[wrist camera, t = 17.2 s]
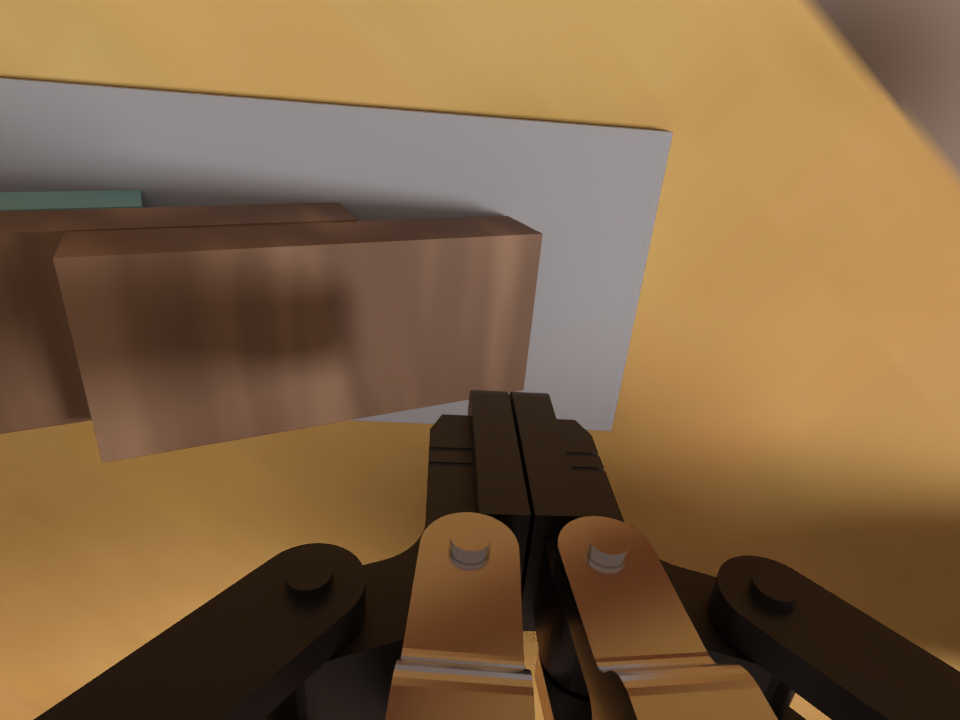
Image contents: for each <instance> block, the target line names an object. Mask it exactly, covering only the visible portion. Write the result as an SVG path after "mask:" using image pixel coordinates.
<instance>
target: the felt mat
mask: <svg viewBox="0 0 960 720" xmlns="http://www.w3.org/2000/svg"><path fill="white" fill-rule="evenodd" d="M672 134H673V132H670V131H665V130H652V129H640V128H627V127H615V126H602V125H590V124H577V123H565V122H552V121H540V120H527V119H515V118H502V117H490V116H477V115H465V114H452V113H440V112H427V111H415V110H402V109H390V108H377V107H365V106H352V105H340V104H327V103H315V102H302V101H290V100H277V99H265V98H253V97H240V96H228V95H215V94H203V93H190V92H178V91H165V90H153V89H140V88H128V87H115V86H103V85H90V84H78V83H65V82H53V81H40V80H28V79H15V78H3V77H0V192H47V191H112V190H141V195H142V201H143V207H144V208H149V207H188V206H226V205H265V204H303V203H340V204H341V205H342V206H343V207H344V208H346V209H347V210H348V211H349V212H350V213H351V214H352V215H353V216H354V217H355V218H357V219H358V221H377V220H406V219H434V218H463V217H491V216H509V217H511V218H513V219H515V220H517V221H519V222H521V223H523V224H525V225H527V226H529V227H531V228H532V229H534V230H536V231H538V232H540V233H542V234H543V235H542V244H541V252H540V260H539V268H538V276H537V285H536V293H535V301H534V309H533V318H532V326H531V334H530V342H529V350H528V359H527V367H526V375H525V383H524V390H522V391H516V392H532V393H548V394H549V396H550V399H551V402H552V406H553V409H554V412H555V416H556V419H568V420H576V421H577V422H578V423H579V424H580V425H581V426H582V427H583V428H584V429H585V430H597V431H612V426H613V421H614V416H615V411H616V406H617V402H618V397H619V392H620V387H621V382H622V377H623V372H624V368H625V363H626V358H627V353H628V348H629V343H630V338H631V334H632V329H633V324H634V319H635V314H636V309H637V304H638V300H639V295H640V290H641V285H642V280H643V275H644V270H645V266H646V261H647V256H648V251H649V246H650V241H651V236H652V231H653V227H654V222H655V217H656V212H657V207H658V202H659V197H660V193H661V188H662V183H663V178H664V173H665V168H666V163H667V159H668V154H669V149H670V144H671V139H672ZM509 394H510V393H509ZM468 404H469V400H464V401H458V402H452V403H447V404H441V405H435V406H429V407H423V408H418V409H412V410H406V411H400V412H394V413H389V414H383V415H377V416H371V417H365V418H360V419H354V420H352V421H377V422H401V423H426V424H435V423H436V421H437V420H438V419H439V418H440V416H441V415H442V414H446V415H468Z"/></svg>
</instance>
